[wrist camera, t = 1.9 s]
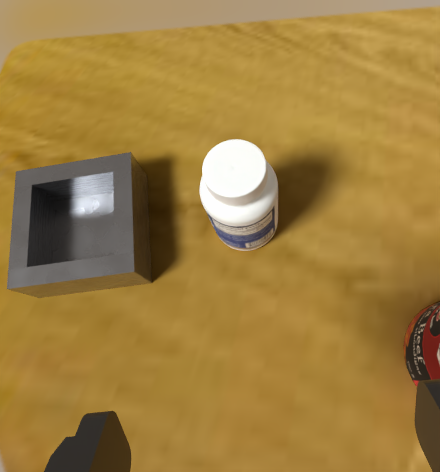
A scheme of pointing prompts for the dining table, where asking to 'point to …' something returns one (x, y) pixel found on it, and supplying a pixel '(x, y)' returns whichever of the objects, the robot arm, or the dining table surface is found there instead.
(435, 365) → the canned food
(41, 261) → the socket cup
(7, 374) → the dining table surface
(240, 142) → the pill bottle
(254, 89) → the dining table surface
